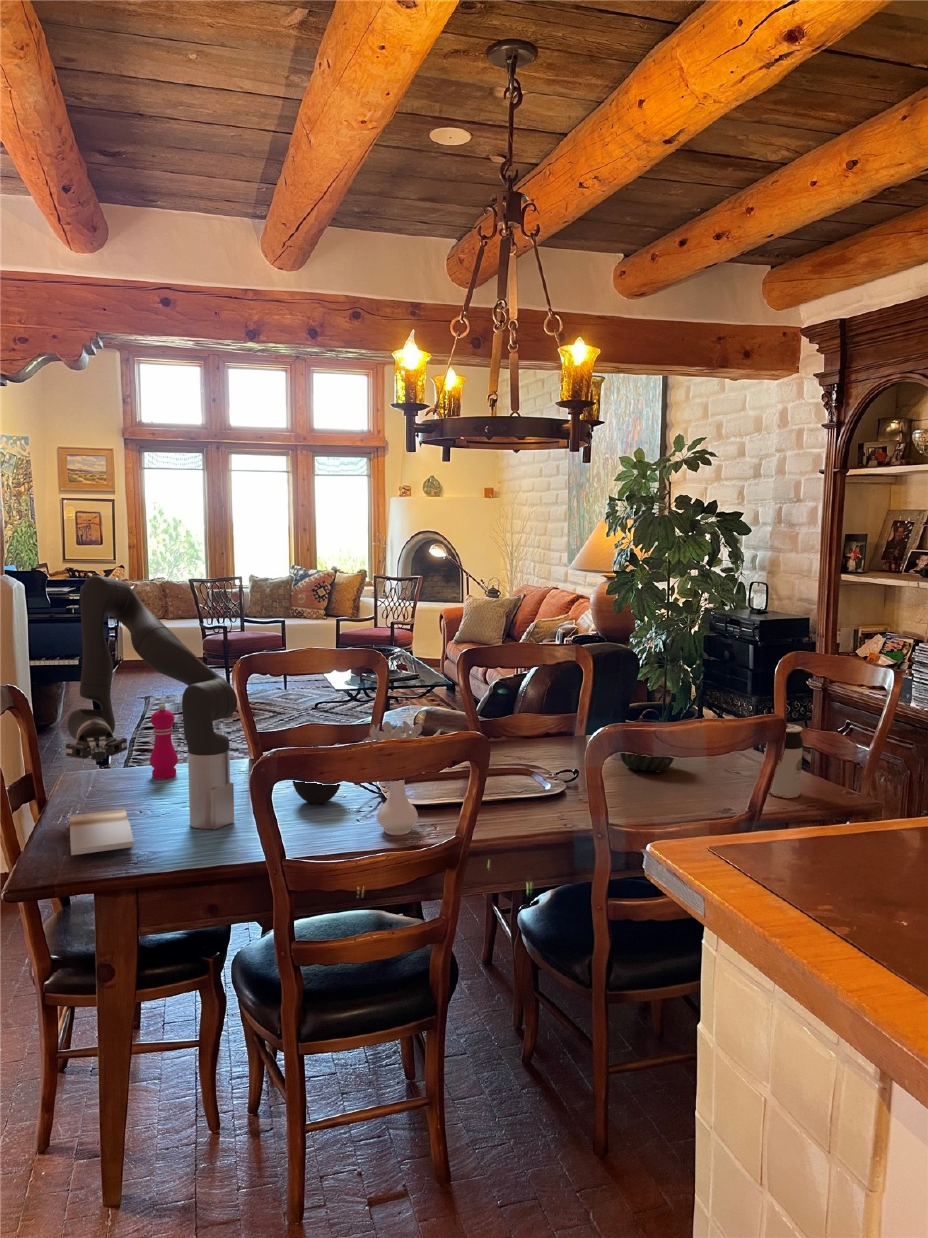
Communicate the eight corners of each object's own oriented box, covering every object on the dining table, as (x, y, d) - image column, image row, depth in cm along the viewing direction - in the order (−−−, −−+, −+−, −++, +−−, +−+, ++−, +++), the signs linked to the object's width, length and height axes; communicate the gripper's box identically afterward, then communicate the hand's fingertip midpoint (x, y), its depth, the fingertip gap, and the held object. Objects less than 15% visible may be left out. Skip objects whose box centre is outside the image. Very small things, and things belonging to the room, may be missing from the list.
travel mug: (761, 793, 230) (764, 726, 228) (778, 788, 235) (782, 722, 233) (788, 801, 224) (792, 732, 222) (806, 795, 228) (809, 728, 226)
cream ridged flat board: (69, 824, 202) (69, 815, 201) (125, 817, 207) (125, 809, 206) (71, 855, 183) (70, 846, 183) (132, 846, 188) (131, 837, 188)
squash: (609, 743, 258) (626, 713, 248) (656, 742, 262) (674, 713, 251) (622, 785, 249) (640, 755, 238) (670, 783, 253) (690, 755, 242)
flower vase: (448, 833, 198) (449, 725, 196) (371, 845, 190) (371, 733, 188) (425, 815, 210) (425, 713, 207) (351, 826, 202) (351, 720, 199)
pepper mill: (162, 781, 235) (160, 708, 232) (144, 777, 238) (142, 705, 236) (183, 775, 241) (181, 703, 238) (166, 771, 244) (164, 700, 242)
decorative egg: (352, 803, 219) (352, 744, 217) (313, 815, 210) (312, 753, 208) (321, 792, 227) (320, 735, 225) (281, 803, 218) (281, 744, 216)
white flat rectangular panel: (70, 828, 190) (70, 849, 178) (128, 820, 195) (133, 841, 183) (70, 833, 190) (71, 855, 178) (129, 825, 195) (134, 846, 183)
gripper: (61, 725, 195) (63, 742, 179) (125, 719, 200) (132, 735, 185) (63, 758, 196) (65, 778, 180) (126, 751, 201) (133, 770, 186)
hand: (99, 756), depth 182 cm, fingers closed
